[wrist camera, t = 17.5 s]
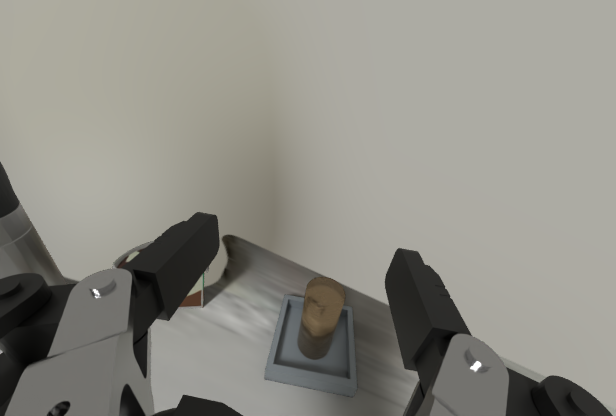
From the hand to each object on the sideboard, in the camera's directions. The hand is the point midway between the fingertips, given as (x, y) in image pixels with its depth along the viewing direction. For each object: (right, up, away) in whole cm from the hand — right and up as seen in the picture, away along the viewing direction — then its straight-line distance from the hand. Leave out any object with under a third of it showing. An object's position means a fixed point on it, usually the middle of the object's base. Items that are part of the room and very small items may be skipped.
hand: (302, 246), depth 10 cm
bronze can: (+1, -18, +23) cm, 30 cm away
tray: (+1, -19, +24) cm, 30 cm away
